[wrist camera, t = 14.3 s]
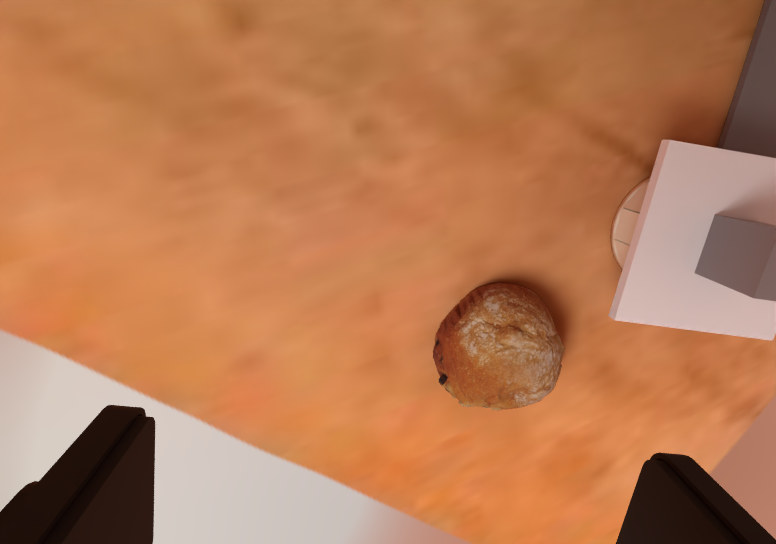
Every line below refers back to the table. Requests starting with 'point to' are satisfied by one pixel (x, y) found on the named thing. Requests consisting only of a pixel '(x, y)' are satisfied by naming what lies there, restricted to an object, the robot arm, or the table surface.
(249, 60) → the table surface
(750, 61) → the mat
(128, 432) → the robot arm
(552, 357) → the bread roll
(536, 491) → the table surface
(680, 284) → the lid
